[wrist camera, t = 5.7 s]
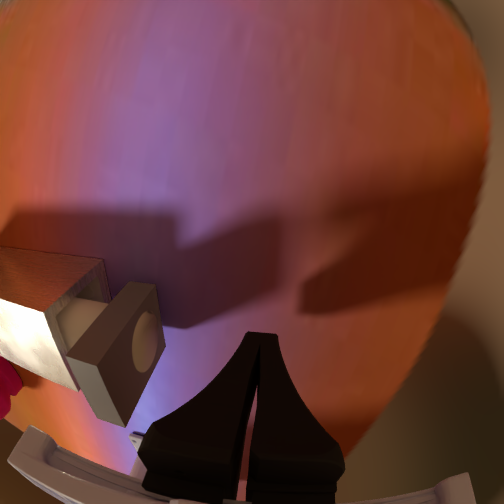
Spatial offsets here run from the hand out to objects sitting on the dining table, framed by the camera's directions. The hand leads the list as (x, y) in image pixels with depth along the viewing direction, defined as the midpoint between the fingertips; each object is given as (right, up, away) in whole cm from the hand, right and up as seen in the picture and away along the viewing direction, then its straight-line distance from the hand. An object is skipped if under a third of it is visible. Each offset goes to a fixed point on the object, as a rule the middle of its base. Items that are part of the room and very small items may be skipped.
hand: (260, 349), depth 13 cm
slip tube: (-17, +2, +3) cm, 17 cm away
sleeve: (-15, +2, +3) cm, 15 cm away
